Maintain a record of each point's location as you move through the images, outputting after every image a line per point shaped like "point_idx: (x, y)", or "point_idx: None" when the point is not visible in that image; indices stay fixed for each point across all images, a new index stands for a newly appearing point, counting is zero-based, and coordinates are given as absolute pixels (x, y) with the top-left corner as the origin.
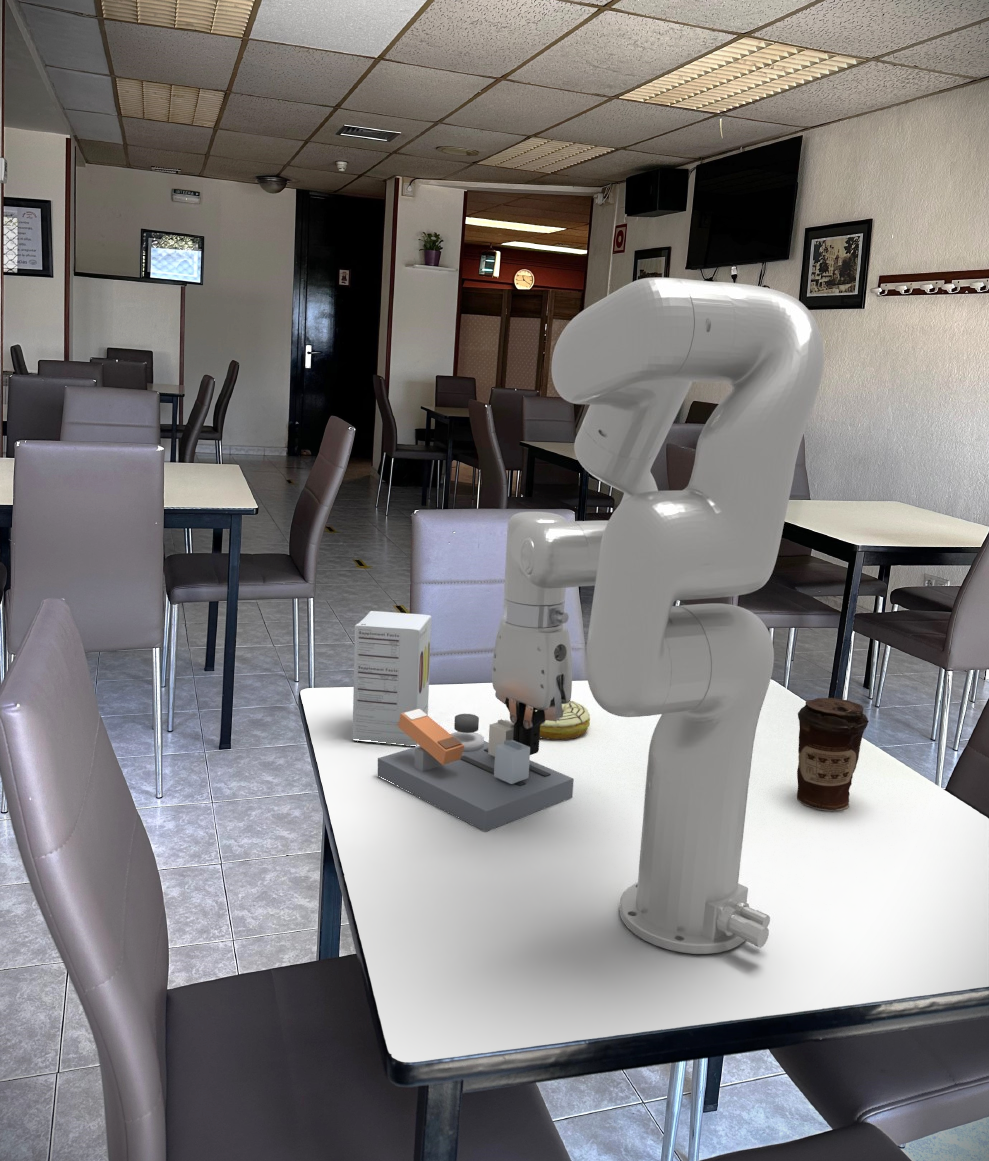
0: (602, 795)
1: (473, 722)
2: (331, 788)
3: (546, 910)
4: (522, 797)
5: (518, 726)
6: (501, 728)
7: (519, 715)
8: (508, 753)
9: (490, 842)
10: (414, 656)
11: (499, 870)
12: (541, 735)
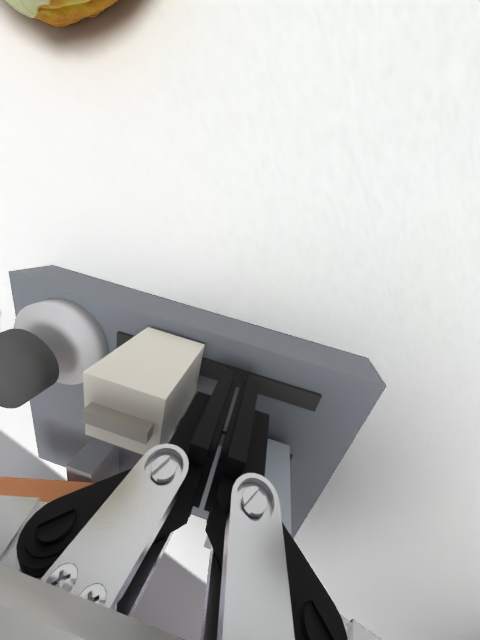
0: (438, 310)
1: (29, 392)
2: (65, 475)
3: (438, 619)
4: (315, 500)
5: (194, 506)
6: (132, 448)
7: (163, 536)
8: None
9: (306, 528)
10: None
11: (350, 572)
12: (100, 10)
